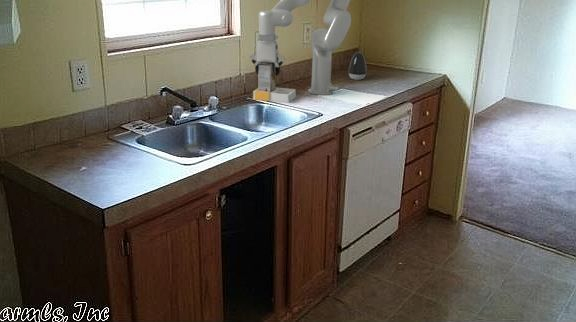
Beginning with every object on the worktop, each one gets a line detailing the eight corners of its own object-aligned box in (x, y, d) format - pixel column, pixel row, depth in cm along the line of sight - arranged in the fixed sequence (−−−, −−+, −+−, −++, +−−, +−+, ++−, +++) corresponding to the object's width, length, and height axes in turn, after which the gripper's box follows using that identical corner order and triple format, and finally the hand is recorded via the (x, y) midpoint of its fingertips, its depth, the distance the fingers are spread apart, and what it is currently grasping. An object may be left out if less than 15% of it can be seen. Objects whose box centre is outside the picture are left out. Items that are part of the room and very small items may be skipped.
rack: (295, 96, 264) (296, 88, 262) (288, 103, 252) (288, 93, 251) (261, 93, 268) (261, 84, 267) (252, 99, 257) (252, 90, 255)
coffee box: (262, 92, 266) (262, 60, 260) (275, 93, 265) (275, 61, 259) (257, 97, 258) (257, 63, 252) (270, 98, 257) (271, 64, 251)
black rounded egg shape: (369, 78, 307) (371, 51, 302) (361, 81, 299) (363, 54, 294) (352, 76, 312) (354, 49, 307) (344, 79, 304) (346, 52, 299)
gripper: (287, 37, 253) (287, 73, 259) (252, 36, 257) (253, 71, 263) (282, 40, 246) (282, 77, 252) (246, 38, 251) (247, 74, 257)
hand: (267, 74), depth 258 cm, fingers open, 9 cm apart
